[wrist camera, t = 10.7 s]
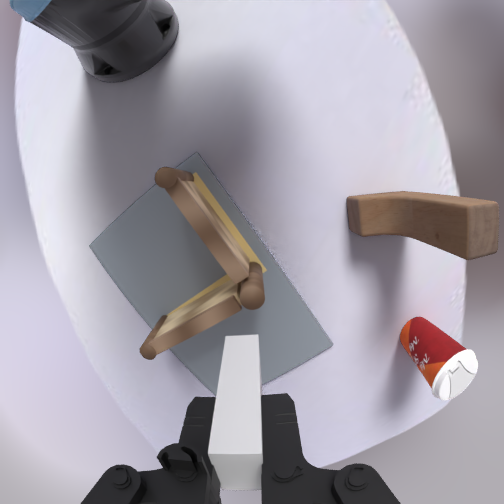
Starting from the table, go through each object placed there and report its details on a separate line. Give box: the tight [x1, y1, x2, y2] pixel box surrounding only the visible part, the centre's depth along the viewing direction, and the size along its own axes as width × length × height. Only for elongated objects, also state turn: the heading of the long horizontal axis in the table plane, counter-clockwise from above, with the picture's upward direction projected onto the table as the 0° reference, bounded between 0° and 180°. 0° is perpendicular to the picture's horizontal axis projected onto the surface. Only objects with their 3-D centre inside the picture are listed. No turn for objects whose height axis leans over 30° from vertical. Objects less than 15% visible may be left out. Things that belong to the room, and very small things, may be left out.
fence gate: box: [140, 279, 242, 360], centre depth 32 cm, size 14×2×8 cm, turn 122°
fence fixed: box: [155, 167, 265, 310], centre depth 29 cm, size 16×2×9 cm, turn 36°
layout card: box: [89, 152, 333, 396], centre depth 36 cm, size 32×20×1 cm, turn 36°
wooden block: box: [347, 191, 499, 260], centre depth 25 cm, size 9×4×18 cm, turn 99°
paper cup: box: [400, 317, 478, 400], centre depth 31 cm, size 8×8×14 cm
